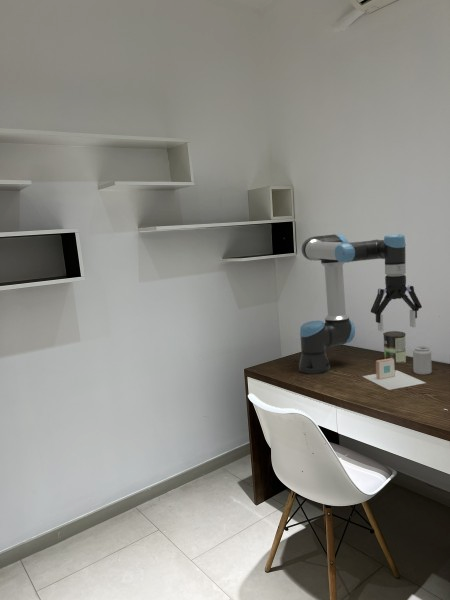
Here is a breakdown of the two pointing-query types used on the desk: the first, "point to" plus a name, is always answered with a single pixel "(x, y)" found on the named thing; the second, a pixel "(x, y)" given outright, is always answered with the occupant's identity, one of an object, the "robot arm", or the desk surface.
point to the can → (422, 360)
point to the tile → (385, 368)
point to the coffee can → (395, 346)
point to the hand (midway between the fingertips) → (396, 328)
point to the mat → (395, 380)
